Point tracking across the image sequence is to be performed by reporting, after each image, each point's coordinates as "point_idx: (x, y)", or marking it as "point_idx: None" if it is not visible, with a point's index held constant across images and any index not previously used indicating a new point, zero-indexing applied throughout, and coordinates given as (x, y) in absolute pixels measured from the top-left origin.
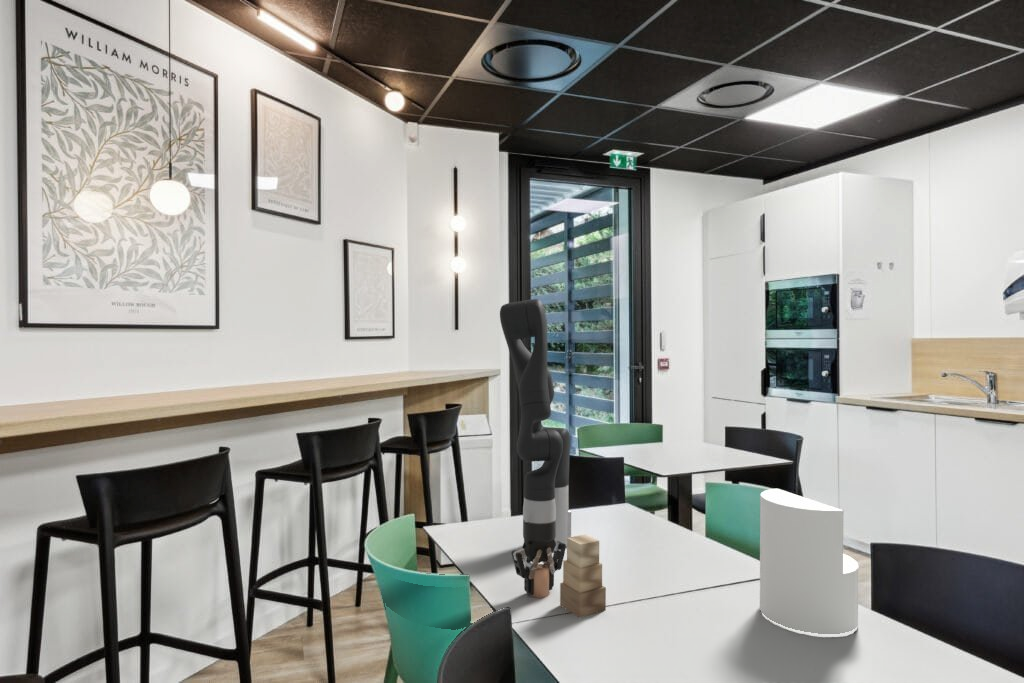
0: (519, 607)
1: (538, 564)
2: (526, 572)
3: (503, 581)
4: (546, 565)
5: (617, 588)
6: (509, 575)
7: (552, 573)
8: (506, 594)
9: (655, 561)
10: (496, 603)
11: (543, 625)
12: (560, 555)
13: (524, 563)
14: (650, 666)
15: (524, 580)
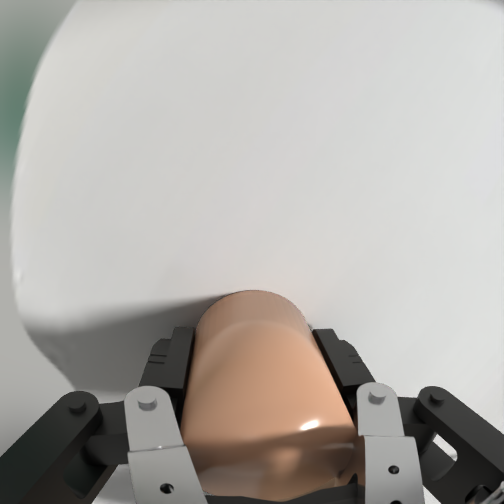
0: (92, 393)
1: (317, 423)
2: (122, 463)
3: (173, 64)
4: (351, 452)
5: (482, 399)
6: (269, 10)
7: None
8: (84, 251)
9: None
10: (18, 310)
11: (126, 485)
12: (447, 502)
13: (128, 455)
14: None
15: (141, 381)
